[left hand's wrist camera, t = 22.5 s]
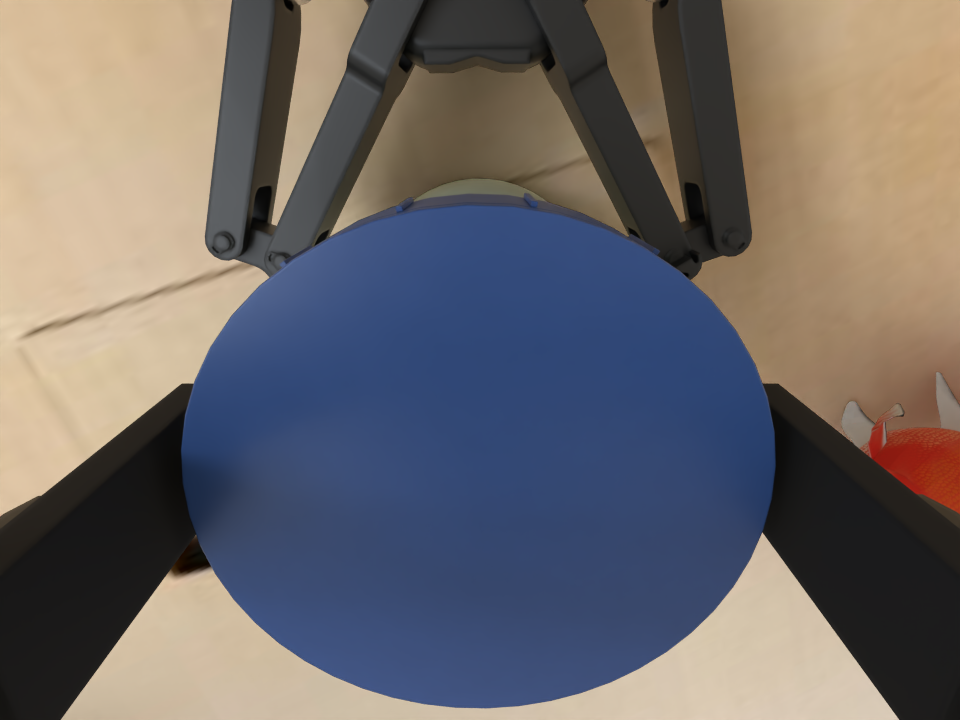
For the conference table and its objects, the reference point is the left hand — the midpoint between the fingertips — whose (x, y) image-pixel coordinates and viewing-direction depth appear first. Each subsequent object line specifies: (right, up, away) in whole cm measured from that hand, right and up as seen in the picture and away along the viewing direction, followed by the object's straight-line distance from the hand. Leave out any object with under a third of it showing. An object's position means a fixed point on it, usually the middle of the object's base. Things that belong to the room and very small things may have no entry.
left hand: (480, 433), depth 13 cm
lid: (0, -1, -2) cm, 3 cm away
